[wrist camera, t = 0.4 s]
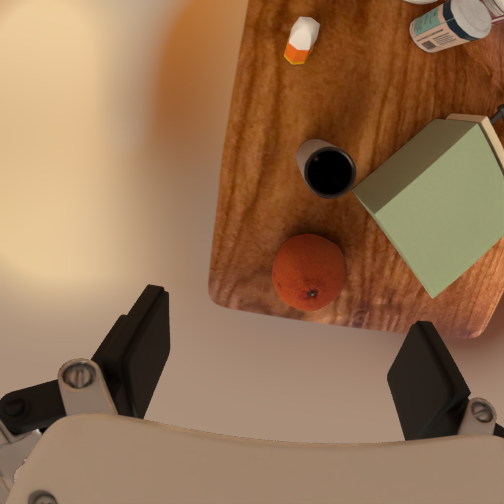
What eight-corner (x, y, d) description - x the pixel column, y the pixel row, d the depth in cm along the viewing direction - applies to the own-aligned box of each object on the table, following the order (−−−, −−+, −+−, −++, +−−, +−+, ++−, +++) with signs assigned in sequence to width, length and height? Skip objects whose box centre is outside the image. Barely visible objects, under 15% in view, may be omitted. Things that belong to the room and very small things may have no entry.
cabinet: (434, 118, 31) (477, 122, 22) (478, 195, 34) (520, 218, 25) (350, 190, 36) (374, 214, 27) (404, 261, 39) (432, 299, 30)
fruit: (330, 294, 41) (339, 330, 34) (266, 281, 41) (263, 317, 34) (350, 234, 38) (366, 262, 30) (281, 218, 38) (282, 244, 30)
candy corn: (296, 19, 28) (302, -5, 20) (321, 29, 28) (333, 6, 21) (278, 61, 30) (279, 46, 23) (303, 71, 30) (311, 58, 23)
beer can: (446, 50, 27) (502, 35, 16) (418, 55, 28) (470, 38, 17) (431, 16, 25) (481, -9, 14) (401, 21, 26) (447, -8, 15)
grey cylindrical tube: (288, 164, 35) (293, 181, 26) (308, 131, 33) (321, 135, 24) (322, 184, 36) (338, 208, 26) (342, 152, 34) (366, 165, 24)
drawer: (478, 88, 27) (515, 88, 20) (514, 159, 30) (549, 171, 23) (376, 178, 34) (400, 194, 27) (423, 245, 37) (449, 273, 29)
